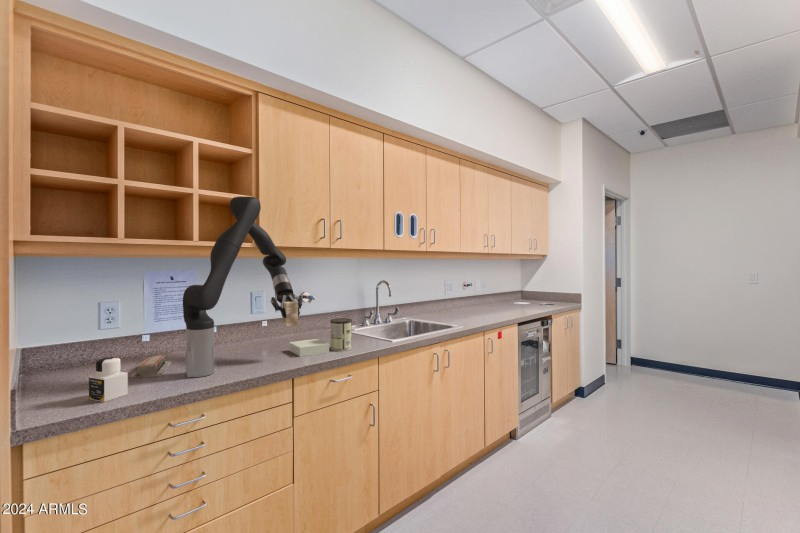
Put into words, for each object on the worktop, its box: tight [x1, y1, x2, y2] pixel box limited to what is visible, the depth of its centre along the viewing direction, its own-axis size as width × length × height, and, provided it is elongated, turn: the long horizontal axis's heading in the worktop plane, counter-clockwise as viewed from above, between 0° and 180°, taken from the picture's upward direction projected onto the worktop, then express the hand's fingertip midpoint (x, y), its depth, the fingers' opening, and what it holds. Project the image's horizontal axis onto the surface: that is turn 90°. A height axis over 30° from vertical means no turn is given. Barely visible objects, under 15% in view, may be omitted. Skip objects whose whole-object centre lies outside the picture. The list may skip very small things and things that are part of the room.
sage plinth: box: [288, 338, 330, 357], centre depth 179 cm, size 14×14×4 cm
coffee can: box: [329, 317, 353, 352], centre depth 186 cm, size 10×10×14 cm
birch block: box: [282, 301, 299, 328], centre depth 167 cm, size 5×5×10 cm
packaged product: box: [128, 354, 172, 380], centre depth 147 cm, size 18×5×10 cm
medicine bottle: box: [88, 356, 129, 403], centre depth 119 cm, size 7×7×12 cm
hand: (291, 316), depth 165 cm, fingers closed on birch block, 5 cm apart
